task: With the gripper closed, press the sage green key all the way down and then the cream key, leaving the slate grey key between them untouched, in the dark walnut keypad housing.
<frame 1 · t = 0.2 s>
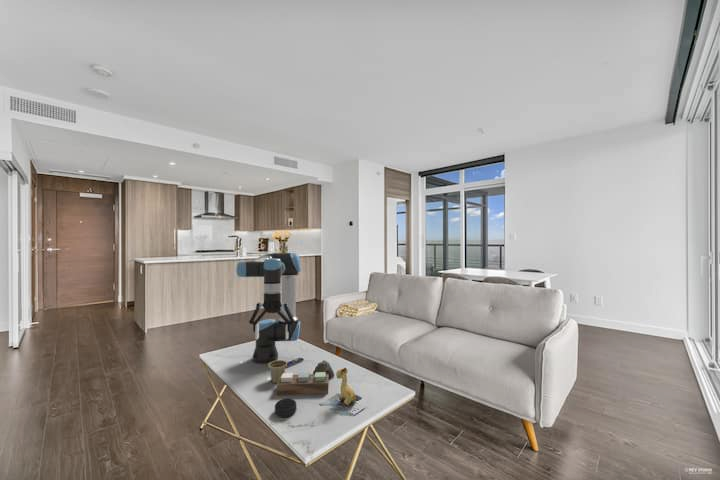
hand: (272, 338, 141), 28 cm above the table, tool pointing down, fingers open, 13 cm apart
smart speaker: (285, 412, 131), on the table
slate grey key: (303, 377, 151), point 6 cm above the table, slide at 0.0 cm
flower pot: (277, 380, 160), on the table
fossil: (322, 377, 165), on the table
keypad housing: (303, 389, 151), on the table
sage green key: (320, 377, 151), point 6 cm above the table, slide at 0.0 cm
stuffed giraffe: (346, 404, 138), on the table
cream key: (287, 377, 150), point 6 cm above the table, slide at 0.0 cm
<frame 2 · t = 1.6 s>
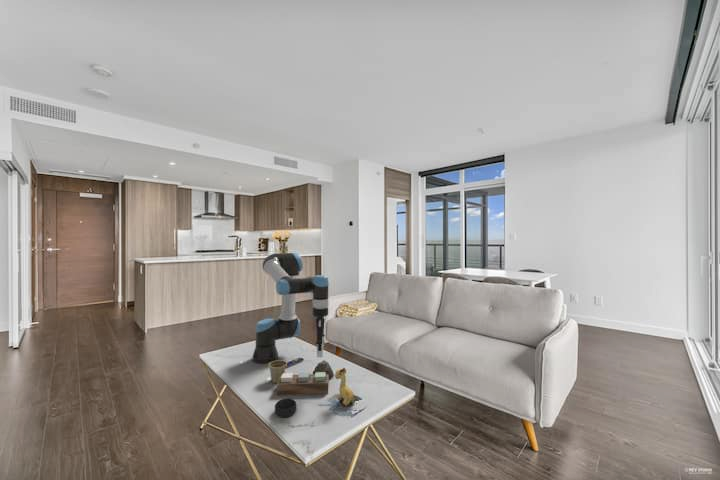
hand: (320, 353, 151), 17 cm above the table, tool pointing down, fingers open, 8 cm apart
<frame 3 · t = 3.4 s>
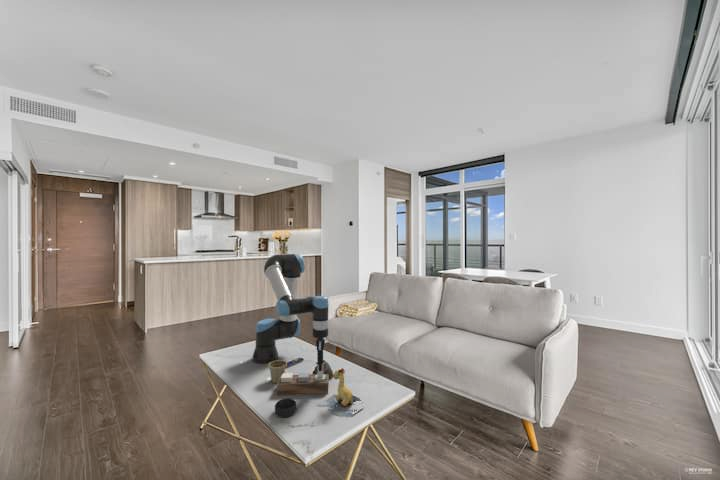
hand: (320, 376, 151), 6 cm above the table, tool pointing down, fingers closed
sage green key: (320, 379, 151), point 5 cm above the table, slide at 1.2 cm, touching gripper
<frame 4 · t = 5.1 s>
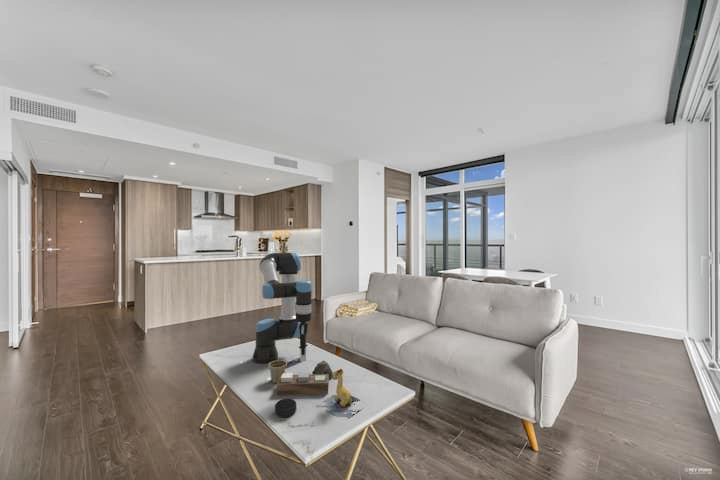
hand: (303, 360, 151), 14 cm above the table, tool pointing down, fingers closed
sage green key: (320, 380, 151), point 4 cm above the table, slide at 1.6 cm
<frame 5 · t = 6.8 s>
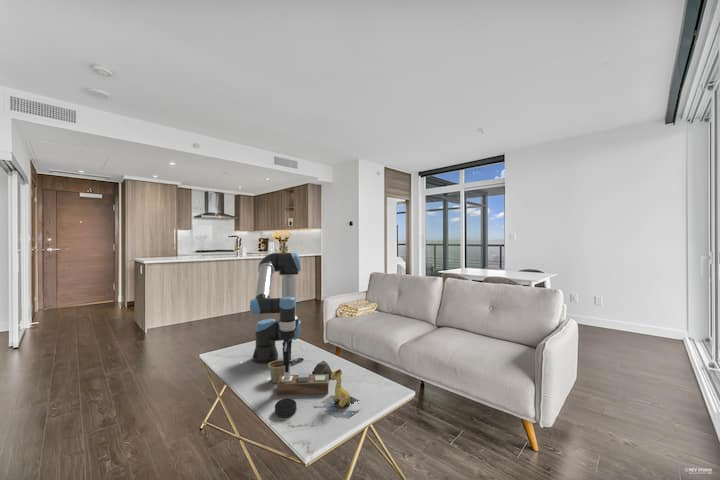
hand: (287, 377, 150), 6 cm above the table, tool pointing down, fingers closed
cream key: (287, 380, 150), point 4 cm above the table, slide at 1.4 cm, touching gripper
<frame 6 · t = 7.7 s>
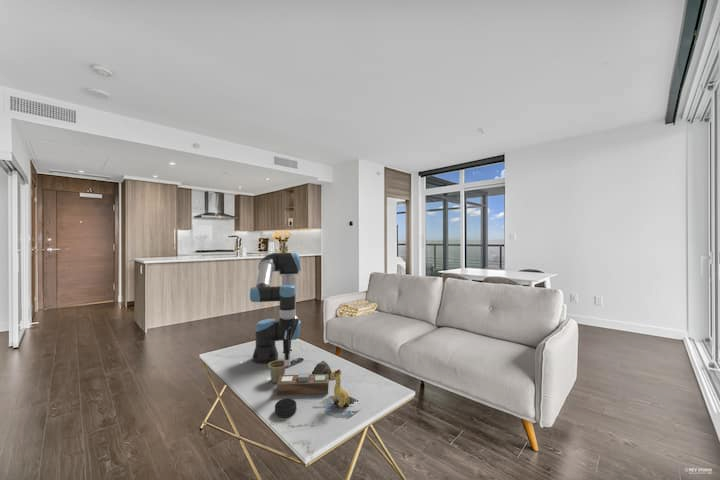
hand: (287, 365, 150), 12 cm above the table, tool pointing down, fingers closed
cream key: (287, 381, 150), point 4 cm above the table, slide at 1.6 cm
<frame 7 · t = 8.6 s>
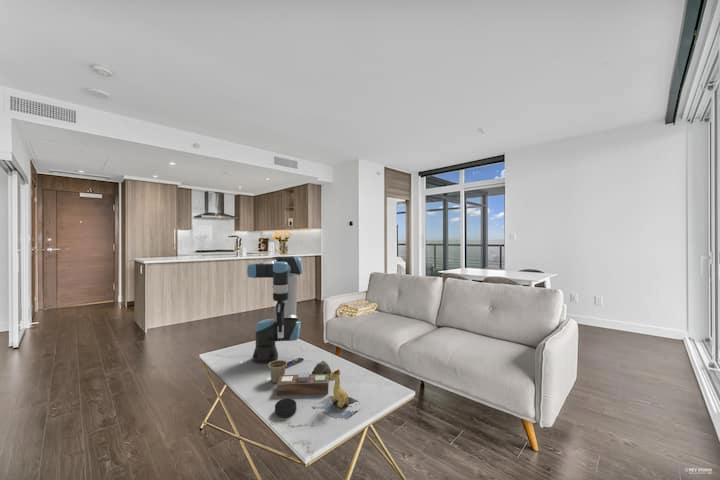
hand: (280, 337, 159), 23 cm above the table, tool pointing down, fingers closed
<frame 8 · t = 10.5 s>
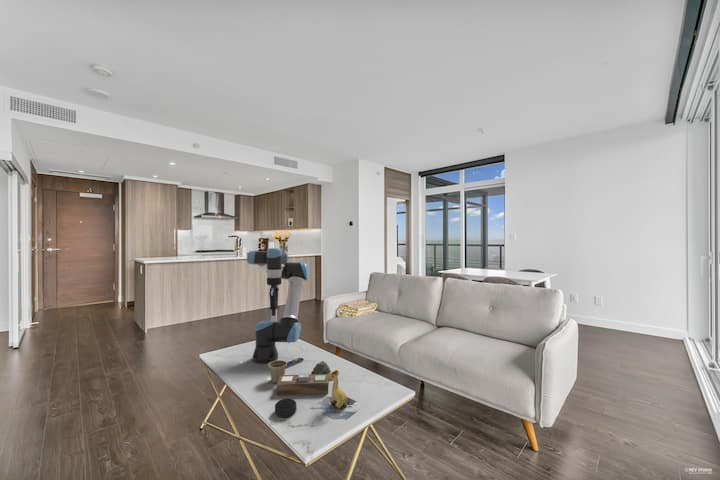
hand: (274, 321, 165), 29 cm above the table, tool pointing down, fingers closed
at the end: sage green key slide at 1.6 cm; cream key slide at 1.6 cm; slate grey key slide at 0.0 cm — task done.
